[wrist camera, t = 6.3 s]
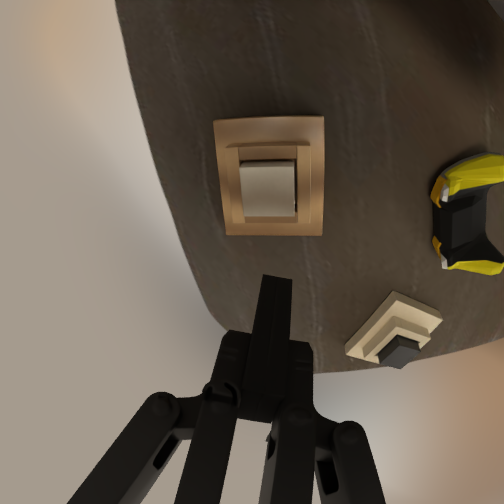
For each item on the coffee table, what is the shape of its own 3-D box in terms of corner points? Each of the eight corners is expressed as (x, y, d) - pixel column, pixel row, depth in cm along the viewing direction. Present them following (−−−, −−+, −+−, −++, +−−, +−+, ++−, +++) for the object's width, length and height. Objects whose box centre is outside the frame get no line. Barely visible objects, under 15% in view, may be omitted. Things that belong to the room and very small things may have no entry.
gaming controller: (490, 144, 20) (423, 154, 23) (518, 157, 16) (447, 169, 19) (487, 252, 27) (429, 269, 30) (506, 276, 23) (444, 297, 26)
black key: (396, 333, 32) (399, 345, 30) (417, 340, 32) (421, 351, 31) (376, 352, 34) (379, 364, 33) (398, 358, 35) (400, 369, 33)
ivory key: (243, 161, 24) (238, 167, 22) (293, 160, 23) (293, 166, 21) (247, 207, 26) (243, 216, 24) (294, 207, 25) (294, 216, 23)
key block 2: (392, 289, 33) (400, 310, 29) (438, 310, 33) (447, 329, 30) (344, 344, 39) (346, 365, 36) (391, 358, 40) (395, 377, 37)
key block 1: (218, 118, 25) (206, 123, 22) (321, 115, 23) (326, 118, 20) (230, 226, 31) (221, 244, 28) (320, 227, 30) (323, 246, 26)
